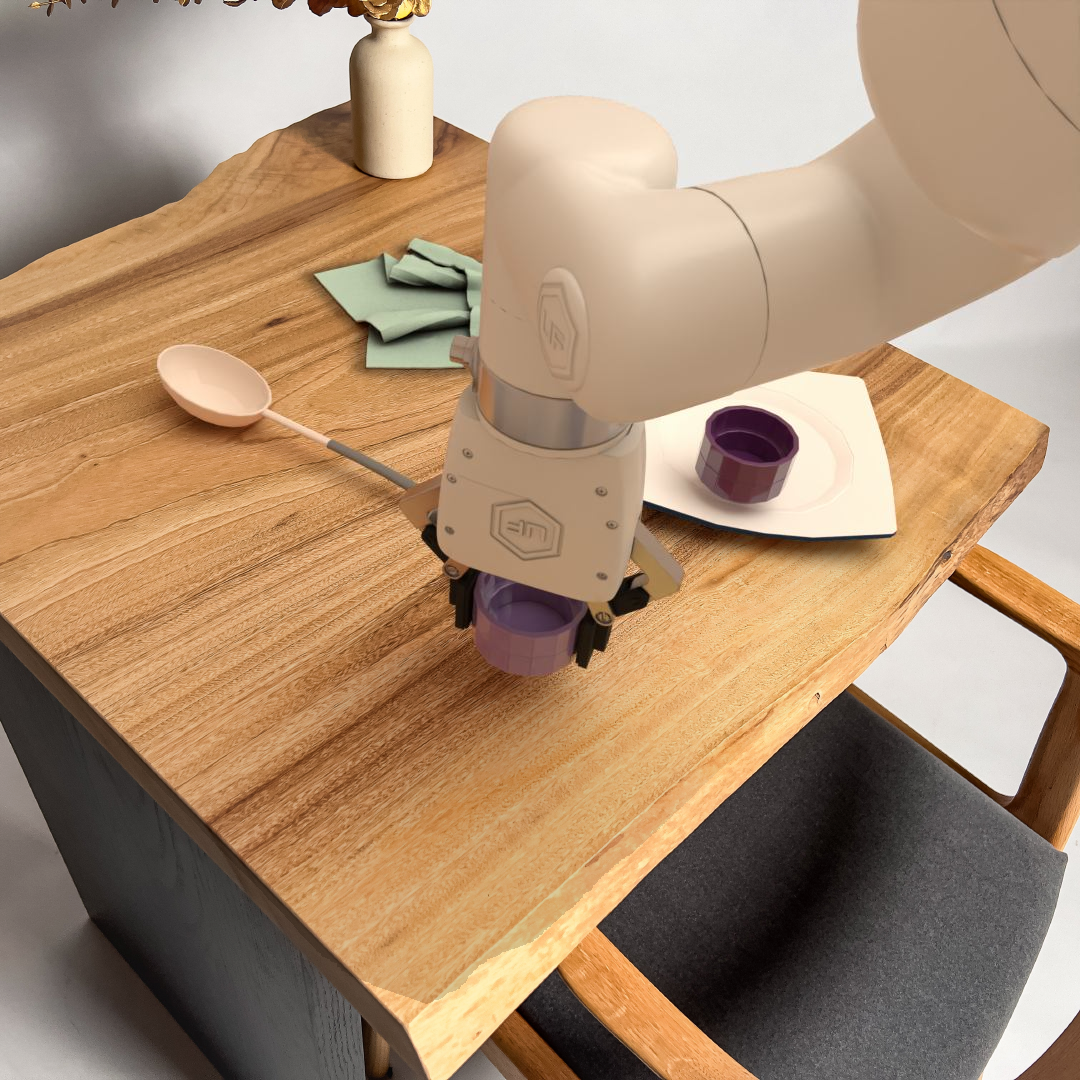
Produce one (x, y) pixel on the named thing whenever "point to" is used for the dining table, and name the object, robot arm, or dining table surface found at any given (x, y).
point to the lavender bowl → (524, 626)
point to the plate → (817, 474)
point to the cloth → (411, 304)
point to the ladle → (239, 397)
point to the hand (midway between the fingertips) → (528, 629)
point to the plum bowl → (746, 454)
